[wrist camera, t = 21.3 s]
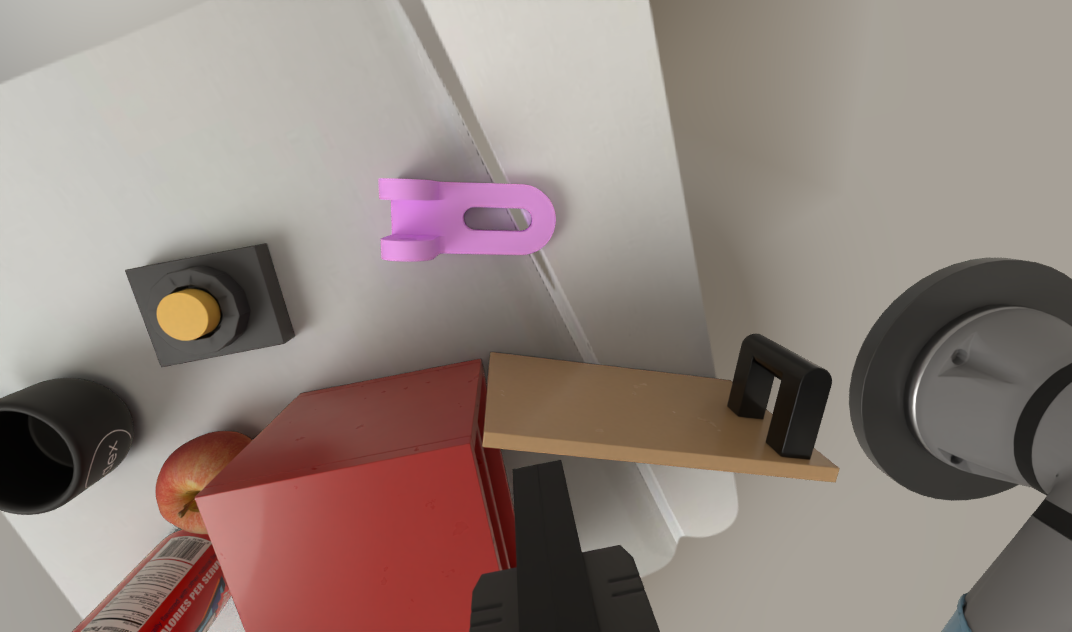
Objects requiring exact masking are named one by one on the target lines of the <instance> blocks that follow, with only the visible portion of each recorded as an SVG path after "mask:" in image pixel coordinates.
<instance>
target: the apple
mask: <svg viewBox="0 0 1072 632" xmlns="http://www.w3.org/2000/svg"><path fill="white" fill-rule="evenodd" d="M251 441H252V439H250V438H249V437H247V436H246V435H244V434H241V433H238V432H233V431H217V432H212V433H208V434H205V435H202V436H199V437H197V438H195V439H193V440H191V441H189V442H187V443H185V444H183V445H182V446H180V447H179V448H178V449H176V450H175V451H174V452H173V453H172V454H171V455H170V456H169V457H168V459H167V460H166V461H165V463H164V464H163V466H162V468H161V471H160V473H159V476H158V479H157V483H156V499H157V503H158V507H159V510H160V513H161V515H162V516H163V517H164V518H165V519H166V520H167V521H168V522H170V523H172V524H174V525H175V526H177V527H179V528H180V529H182V530H185V531H187V532H191V533H197V534H208V532H207V530H206V527H205V524H204V522H203V519H202V517H201V514H200V511H199V509H198V506H197V503H196V501H195V496H196V495H197V494H198V493H199V492H200V491H201V490H203V489H204V487H205V486H206V485H207V484H208V483H209V482H210V481H211V480H212V479H214V478H215V477H216V476H217V475H218V474H219V473H220V472H221V471H222V470H223V469H224V468H225V467H226V466H227V465H228V464H229V463H230V462H231V461H232V460H233V459H234V458H235V457H236V456H237V455H238V454H239V453H240V452H241V451H242V450H243V449H244V448H245V447H246V446H247V445H248V444H249V443H250V442H251Z"/></svg>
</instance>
